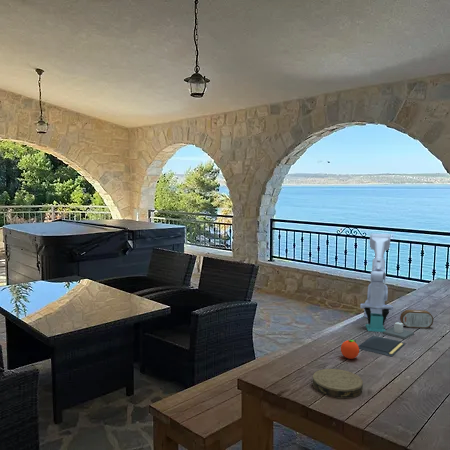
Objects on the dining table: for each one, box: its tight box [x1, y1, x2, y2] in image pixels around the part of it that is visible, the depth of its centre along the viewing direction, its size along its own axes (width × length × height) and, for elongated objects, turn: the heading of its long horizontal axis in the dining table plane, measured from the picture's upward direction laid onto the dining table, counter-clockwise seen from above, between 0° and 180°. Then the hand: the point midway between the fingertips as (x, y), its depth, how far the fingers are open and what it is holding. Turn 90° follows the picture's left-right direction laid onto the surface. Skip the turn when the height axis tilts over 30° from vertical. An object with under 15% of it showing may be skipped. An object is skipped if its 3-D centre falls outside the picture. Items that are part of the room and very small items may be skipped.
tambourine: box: [312, 368, 364, 399], centre depth 139 cm, size 16×16×3 cm
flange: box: [365, 313, 386, 333], centre depth 201 cm, size 8×8×7 cm
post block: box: [382, 321, 415, 340], centre depth 194 cm, size 10×10×5 cm
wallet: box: [358, 335, 406, 358], centre depth 178 cm, size 20×2×15 cm
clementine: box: [340, 339, 360, 360], centre depth 164 cm, size 8×7×7 cm
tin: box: [399, 309, 434, 329], centre depth 205 cm, size 15×3×8 cm, turn 84°
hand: (375, 324), depth 201 cm, fingers open, 5 cm apart
